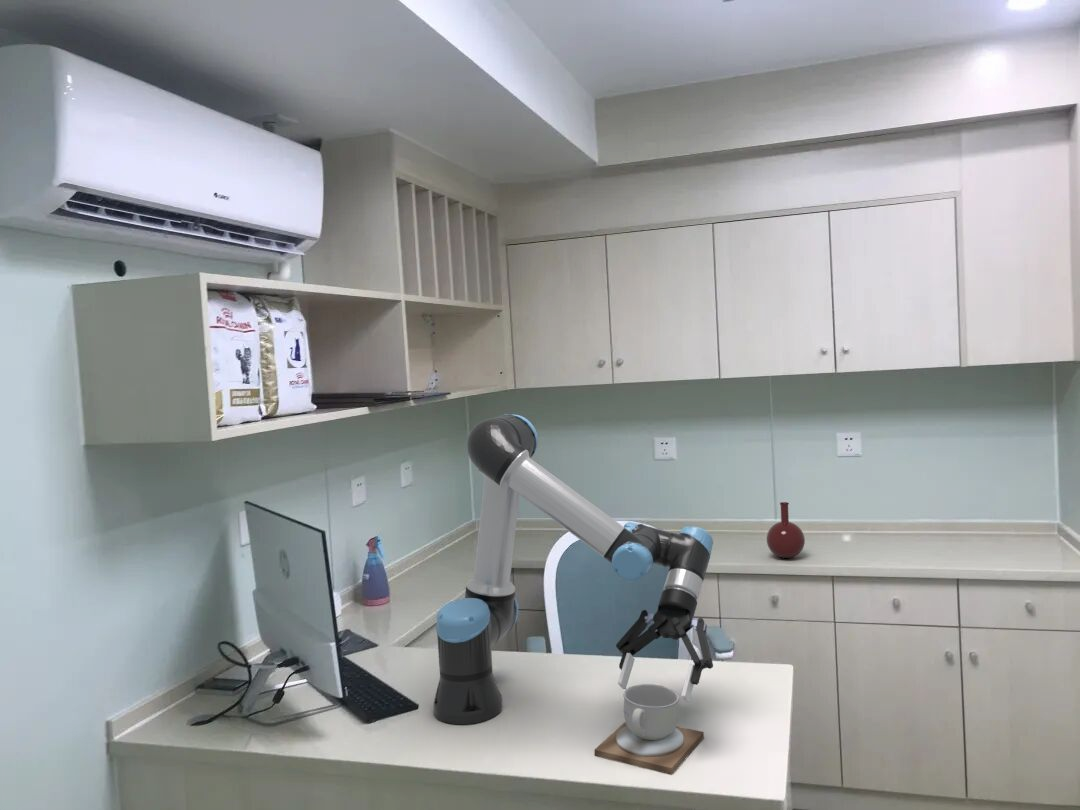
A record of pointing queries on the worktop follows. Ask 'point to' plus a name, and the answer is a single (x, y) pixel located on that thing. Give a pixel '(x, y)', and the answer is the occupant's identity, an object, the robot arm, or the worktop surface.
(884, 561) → the worktop surface
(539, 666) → the worktop surface
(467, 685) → the robot arm
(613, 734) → the walnut board
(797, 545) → the round-bottom flask
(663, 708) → the teacup
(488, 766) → the worktop surface
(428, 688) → the worktop surface
